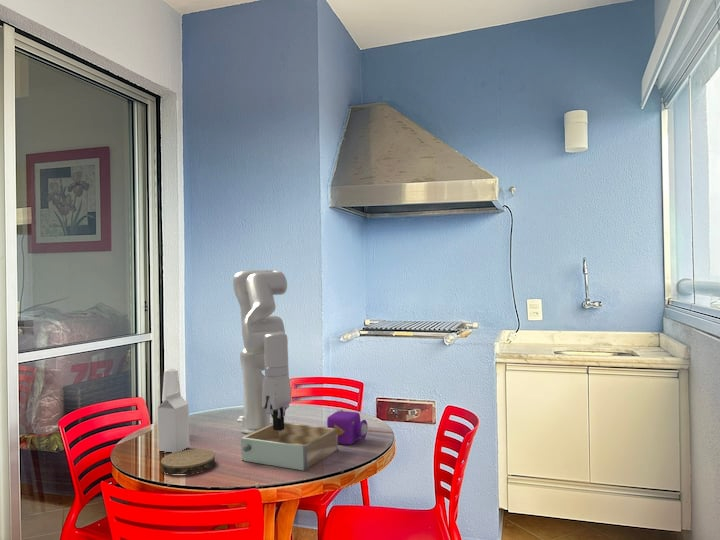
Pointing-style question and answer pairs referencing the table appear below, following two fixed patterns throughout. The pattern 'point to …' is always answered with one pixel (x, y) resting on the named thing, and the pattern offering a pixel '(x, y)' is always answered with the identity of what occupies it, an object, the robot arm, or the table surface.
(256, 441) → the door
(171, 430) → the milk carton
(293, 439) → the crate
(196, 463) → the brown round disc
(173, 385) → the grey tall block
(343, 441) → the toy camera
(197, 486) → the table surface
